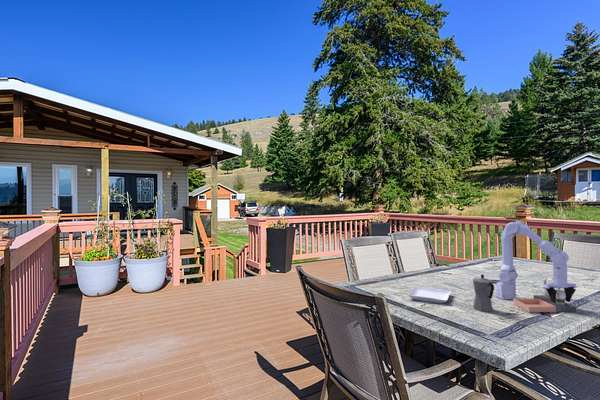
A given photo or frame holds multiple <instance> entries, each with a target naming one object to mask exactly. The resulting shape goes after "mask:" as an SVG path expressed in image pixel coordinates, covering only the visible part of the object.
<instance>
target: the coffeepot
mask: <svg viewBox="0 0 600 400" xmlns="http://www.w3.org/2000/svg"><path fill="white" fill-rule="evenodd" d="M472 284H473V289H474V293H475V295H474V300H473V305H472V306H473V310H475V311H478V312H483V313H490V312H493V309H494V308H493V303H492V298H493V296H494V295H493V294H494V291H495V285H494V282H493V280H492V279H488V278H485V274H480V277H474V278H472Z"/></svg>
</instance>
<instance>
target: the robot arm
mask: <svg viewBox="0 0 600 400" xmlns="http://www.w3.org/2000/svg"><path fill="white" fill-rule="evenodd" d="M516 235H523V236H526V237H527V238H529V239H530V240H531V241H533V242H534V243H535V244H537V245H538V248H539V250H541V251H542V252H543V254H545V255H547V256H548V257H549V258H550V260H551V262H552V263H553V267H552V268H553V269H552V270H553V271H552V272H553V275H552V277H553V280H552V281H553V282H551V283H547V284H545V288H546V290H547V292H548V293H549V296H550V299H551V302H554V303H555V302H556V293H557V290H558V288H560V289H564V290H563V291H565V302H566V303H571V300H572V297H573V295H574V294H575V292H576V290H577V289H576V288H577V284H576V283H570V282H568V263H567V262H568V261H569V258H570V257H569V255H568V254H567V252H565V251H562V250H561V249H559V248H557V246H555V245H554V243H553V242H552V241H549V240H544V239H543V238H542V237H540V236H539V234H537V233H536V232H535V231H534V230H532V229H531V228H530V226H528V225H527V224H525V223H524V222H523V221H521V220H519V221H511V222H509V223H507V224H505V226H504V229H503V231H502V232H501V234H500V239H501V241H500V242H501V260H502V262H501V263H502V265H501V267H500V269H499V270H500V272H499V273H498V274H499V275H498V278H499V280H500V281H497V282H496V284H495V297H498V298H500V299H502V300H513V299H520V298H519V297H518V296H517V291H516V290H517V286H516V285H517V283H516V280H517V278H518V276H519V275H518V273H517V270H516V266H514V251H513V250H514V249H513V238H514V237H515V236H516Z"/></svg>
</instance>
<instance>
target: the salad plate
mask: <svg viewBox="0 0 600 400" xmlns="http://www.w3.org/2000/svg"><path fill="white" fill-rule="evenodd" d="M452 292H453V291H452V290H445V289H439V288H432V287H421V286H414V287H413V288H412V290H411V291H410V292H409V293H408V294H407V296H408V297H409V298H410V299H413V300H416V301H421V300H423V302H428V301H429V303H436V304H444V303H445V304H446V302H448V299H449V297H450V295H451V293H452Z"/></svg>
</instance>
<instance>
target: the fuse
mask: <svg viewBox="0 0 600 400" xmlns="http://www.w3.org/2000/svg"><path fill="white" fill-rule="evenodd" d="M542 295H543V298H544V299H550V296H549V293H548V292H547V290H546V288H545V285H544V284H543V285H542Z"/></svg>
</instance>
